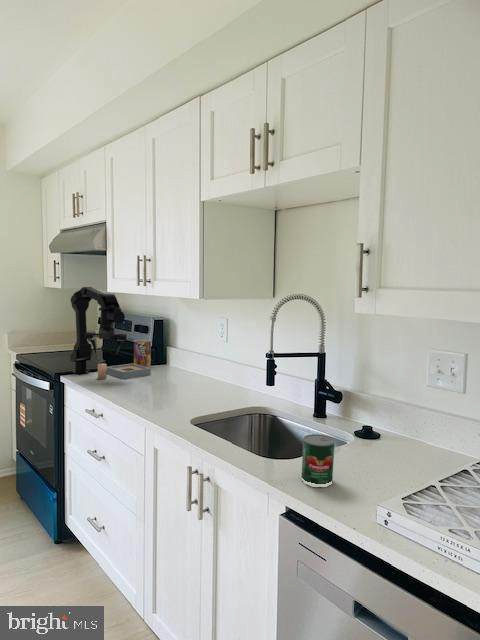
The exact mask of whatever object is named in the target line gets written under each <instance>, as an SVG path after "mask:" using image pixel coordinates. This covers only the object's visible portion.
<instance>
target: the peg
mask: <svg viewBox="0 0 480 640" xmlns="http://www.w3.org/2000/svg"><path fill="white" fill-rule="evenodd" d="M107 367H108V366H107V363H97V380H100V381H102V380H107V374H106V371H107Z"/></svg>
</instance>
